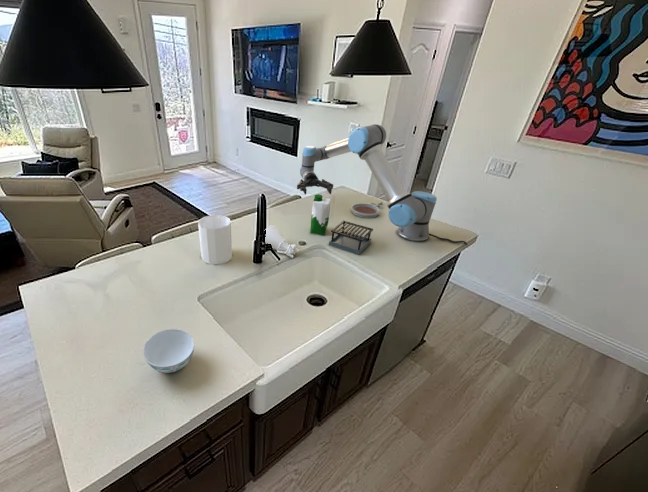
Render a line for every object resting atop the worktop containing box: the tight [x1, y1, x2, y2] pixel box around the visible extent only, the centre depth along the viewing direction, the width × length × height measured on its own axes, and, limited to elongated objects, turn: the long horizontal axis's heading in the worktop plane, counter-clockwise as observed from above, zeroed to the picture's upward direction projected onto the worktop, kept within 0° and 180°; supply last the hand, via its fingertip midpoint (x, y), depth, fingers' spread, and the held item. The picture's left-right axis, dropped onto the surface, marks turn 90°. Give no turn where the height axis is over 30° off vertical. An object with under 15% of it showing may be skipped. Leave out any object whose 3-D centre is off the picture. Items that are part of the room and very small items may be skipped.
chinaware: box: [142, 328, 195, 374], centre depth 100 cm, size 15×15×8 cm
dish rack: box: [328, 220, 374, 255], centre depth 164 cm, size 16×15×8 cm
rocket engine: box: [265, 224, 301, 259], centre depth 158 cm, size 12×12×18 cm
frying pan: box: [350, 201, 383, 219], centre depth 201 cm, size 17×3×28 cm
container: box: [197, 214, 233, 265], centre depth 151 cm, size 14×14×18 cm
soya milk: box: [310, 194, 332, 236], centre depth 172 cm, size 9×9×20 cm
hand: (318, 191), depth 175 cm, fingers open, 13 cm apart
